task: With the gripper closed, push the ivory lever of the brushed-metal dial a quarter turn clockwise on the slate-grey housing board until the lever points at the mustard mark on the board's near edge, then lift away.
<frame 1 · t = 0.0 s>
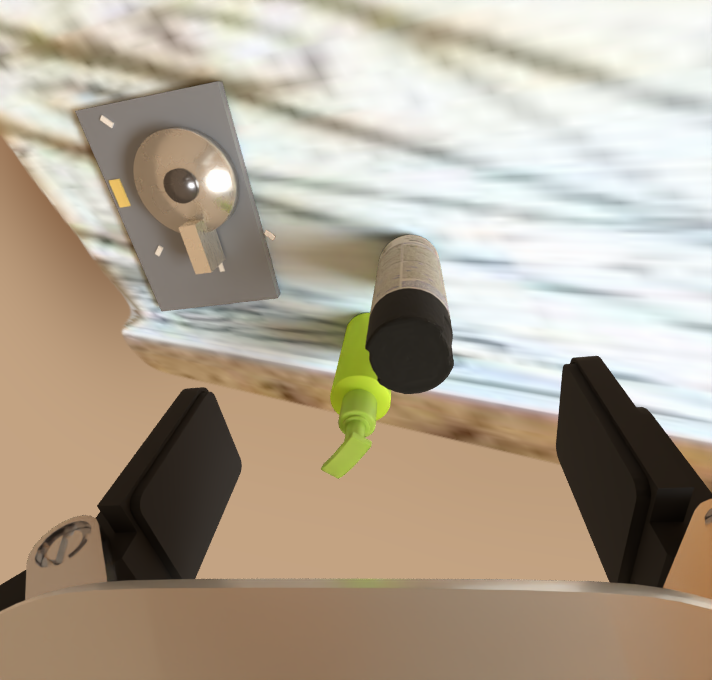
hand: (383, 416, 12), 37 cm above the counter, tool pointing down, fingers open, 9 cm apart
board: (190, 210, 47), on the counter
soap dispenser: (367, 336, 53), on the counter
spray can: (408, 261, 48), on the counter
dial: (189, 203, 43), point 3 cm above the counter, hinge at 0.0°
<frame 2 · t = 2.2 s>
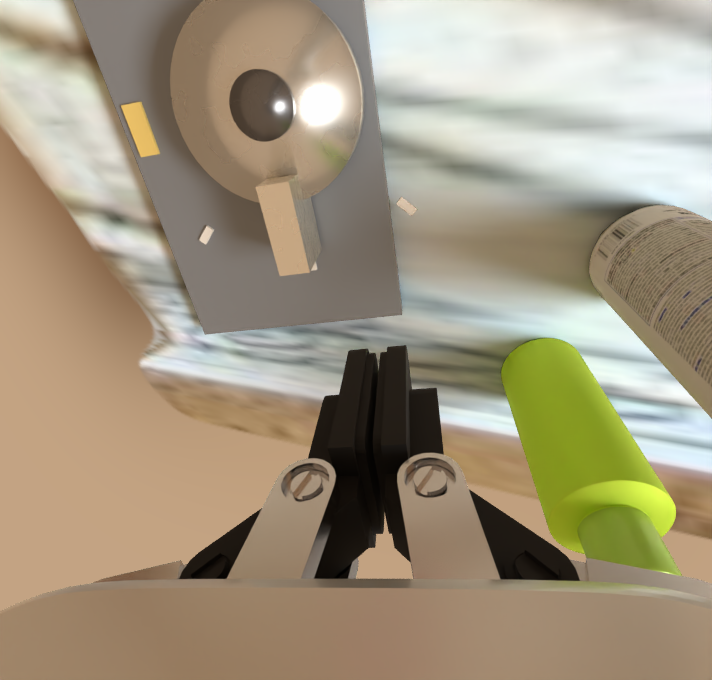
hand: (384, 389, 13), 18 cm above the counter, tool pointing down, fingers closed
board: (263, 163, 27), on the counter
soap dispenser: (535, 373, 33), on the counter
spray can: (639, 253, 28), on the counter
dial: (273, 142, 23), point 3 cm above the counter, hinge at 0.0°
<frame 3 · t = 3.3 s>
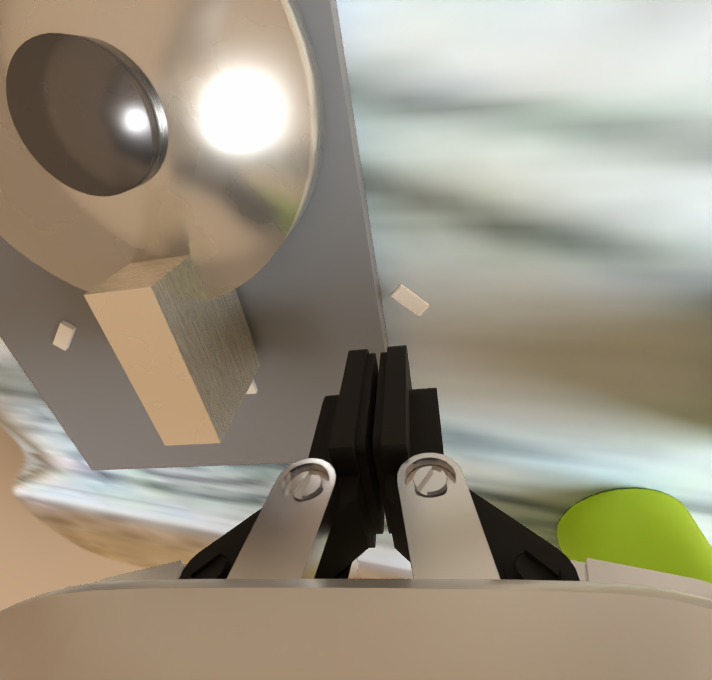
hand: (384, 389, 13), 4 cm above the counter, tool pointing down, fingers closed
board: (151, 216, 15), on the counter
soap dispenser: (610, 529, 21), on the counter
dial: (132, 194, 11), point 3 cm above the counter, hinge at 0.0°
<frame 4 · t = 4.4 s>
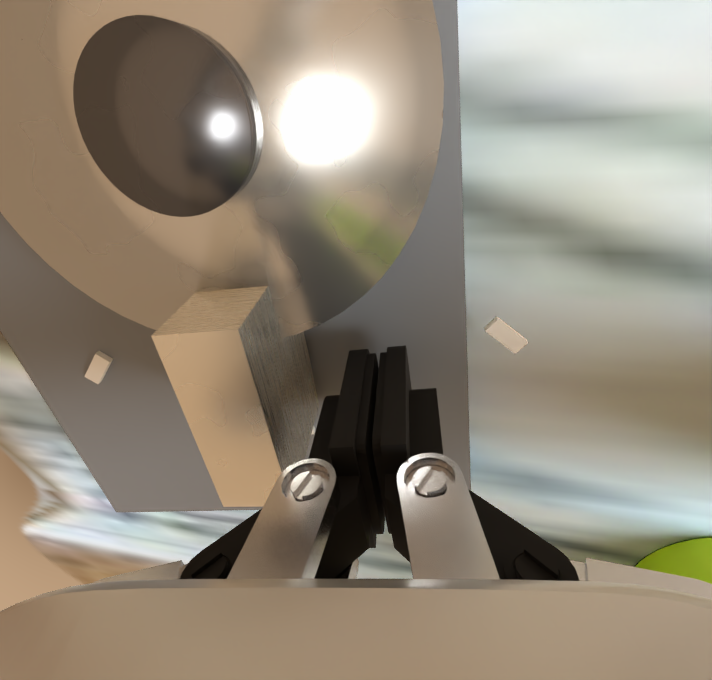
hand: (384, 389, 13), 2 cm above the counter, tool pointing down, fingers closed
board: (206, 235, 13), on the counter
soap dispenser: (686, 579, 19), on the counter
dial: (208, 214, 9), point 3 cm above the counter, hinge at -1.2°, touching gripper
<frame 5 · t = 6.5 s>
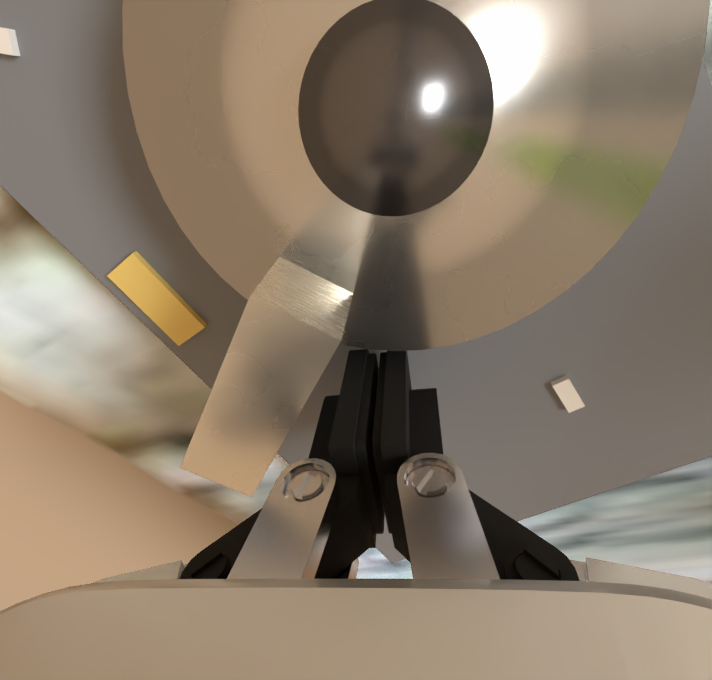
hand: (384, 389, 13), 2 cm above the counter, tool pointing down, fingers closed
board: (396, 249, 12), on the counter
dial: (351, 204, 9), point 3 cm above the counter, hinge at -63.0°, touching gripper
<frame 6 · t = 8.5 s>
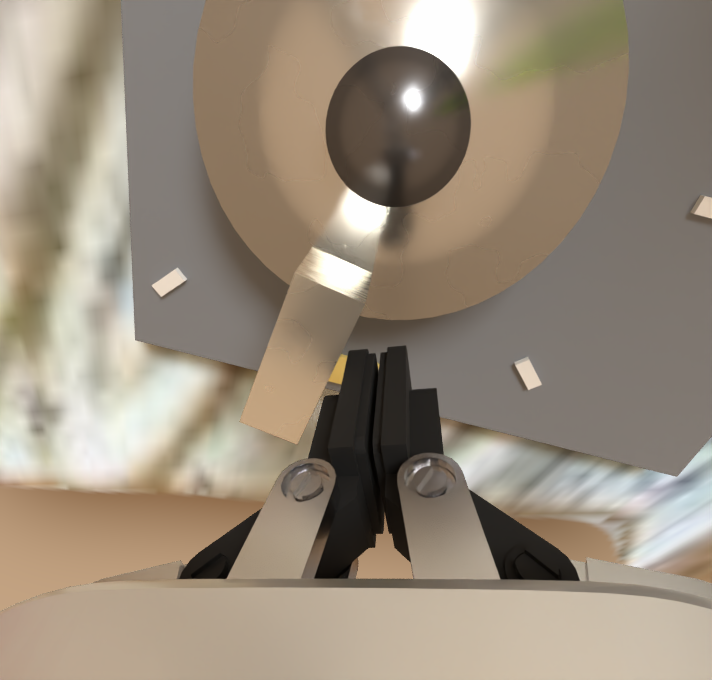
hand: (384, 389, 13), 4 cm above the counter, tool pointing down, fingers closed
board: (471, 213, 14), on the counter
dial: (367, 200, 11), point 3 cm above the counter, hinge at -100.3°
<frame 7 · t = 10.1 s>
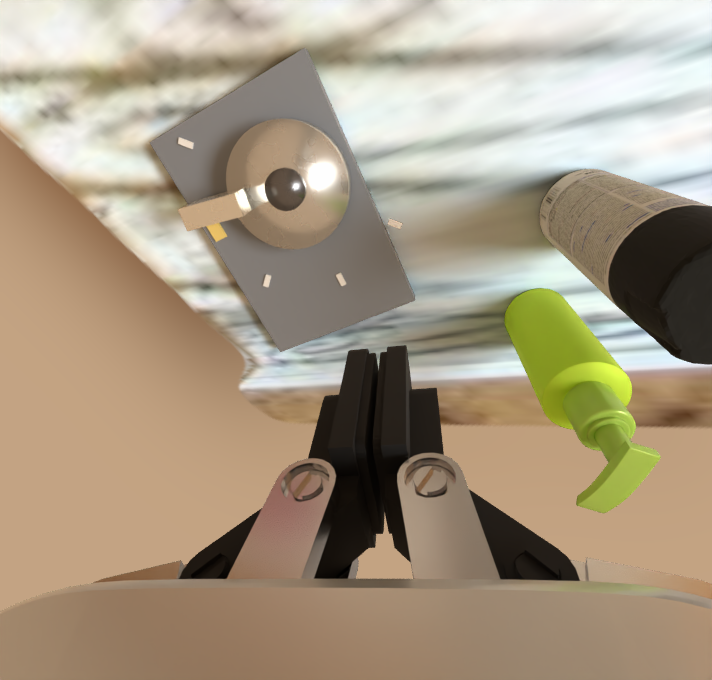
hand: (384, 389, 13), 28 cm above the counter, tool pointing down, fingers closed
board: (293, 222, 39), on the counter
soap dispenser: (532, 320, 42), on the counter
spray can: (576, 208, 36), on the counter
dial: (266, 194, 35), point 3 cm above the counter, hinge at -100.3°
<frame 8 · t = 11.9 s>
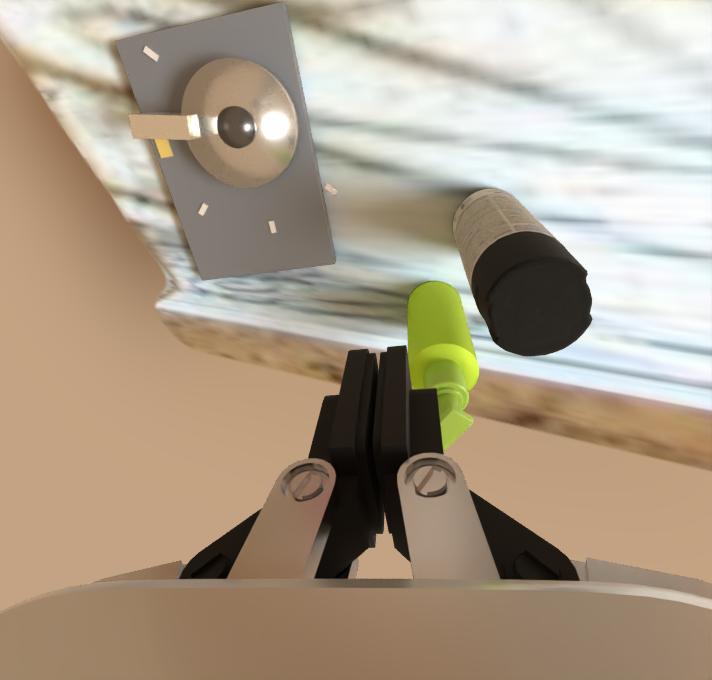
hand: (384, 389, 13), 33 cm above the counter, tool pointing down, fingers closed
board: (239, 162, 42), on the counter
soap dispenser: (431, 308, 48), on the counter
spray can: (485, 220, 42), on the counter
dial: (218, 126, 37), point 3 cm above the counter, hinge at -100.3°
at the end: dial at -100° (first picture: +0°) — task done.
